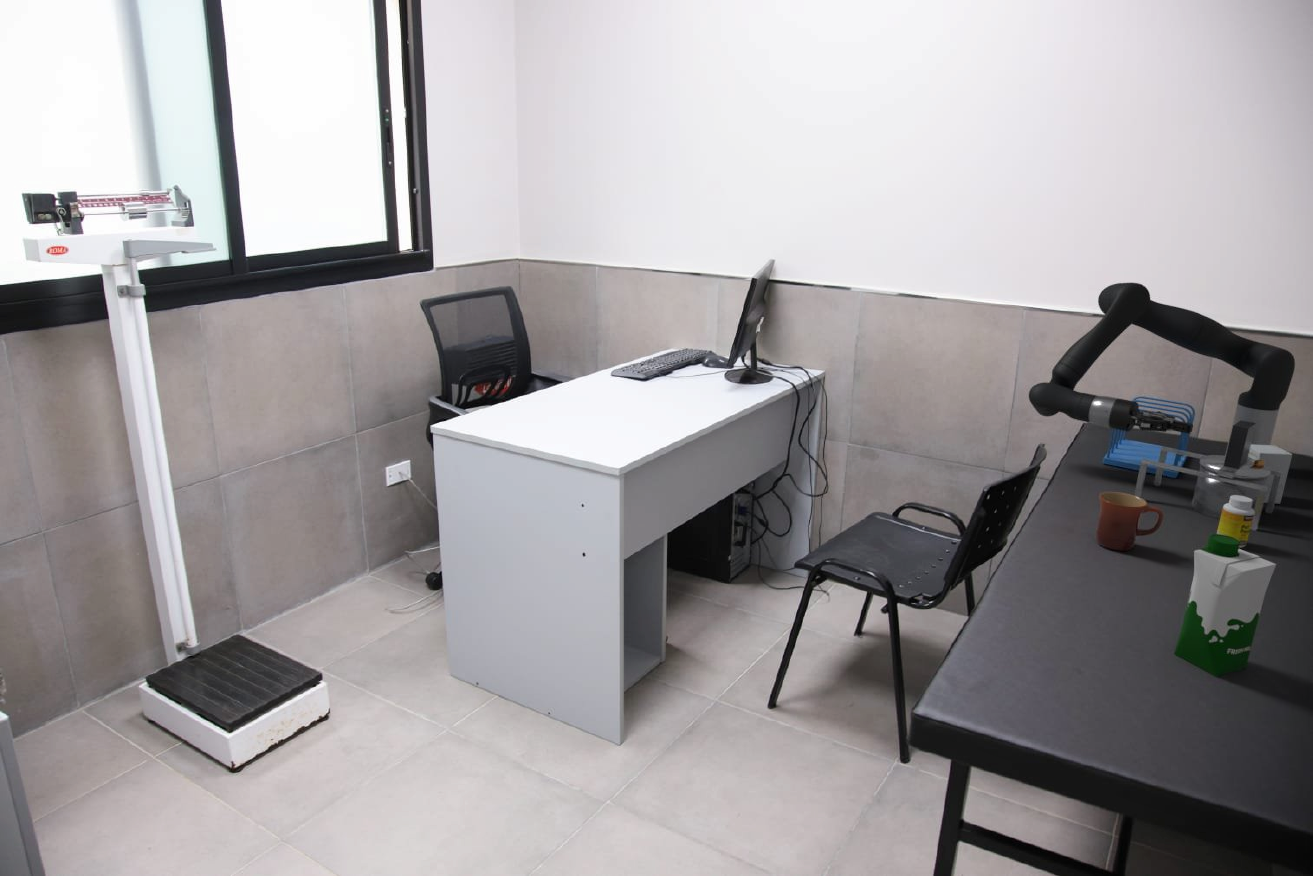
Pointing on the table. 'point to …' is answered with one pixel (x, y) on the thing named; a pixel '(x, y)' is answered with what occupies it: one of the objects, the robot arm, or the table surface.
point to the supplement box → (1272, 465)
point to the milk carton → (1223, 606)
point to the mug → (1122, 520)
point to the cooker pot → (1215, 487)
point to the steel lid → (1237, 456)
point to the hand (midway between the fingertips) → (1191, 428)
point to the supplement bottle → (1237, 519)
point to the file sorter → (1134, 452)
